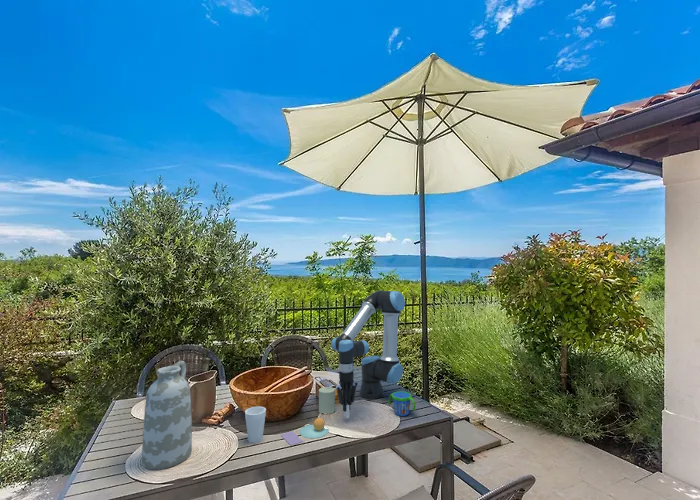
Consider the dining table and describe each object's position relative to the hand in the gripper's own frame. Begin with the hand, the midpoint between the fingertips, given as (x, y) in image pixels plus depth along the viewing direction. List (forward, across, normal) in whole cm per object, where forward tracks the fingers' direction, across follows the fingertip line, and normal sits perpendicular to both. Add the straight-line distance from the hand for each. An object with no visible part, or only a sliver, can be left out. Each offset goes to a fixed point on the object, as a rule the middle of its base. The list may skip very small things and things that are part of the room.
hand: (346, 417), depth 176 cm
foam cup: (+2, -45, +9) cm, 46 cm away
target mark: (+2, -19, 0) cm, 19 cm away
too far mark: (+2, -31, 0) cm, 31 cm away
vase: (+2, -80, +16) cm, 82 cm away
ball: (-1, -16, 0) cm, 17 cm away
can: (+2, -2, +17) cm, 17 cm away
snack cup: (+2, +29, -10) cm, 31 cm away
